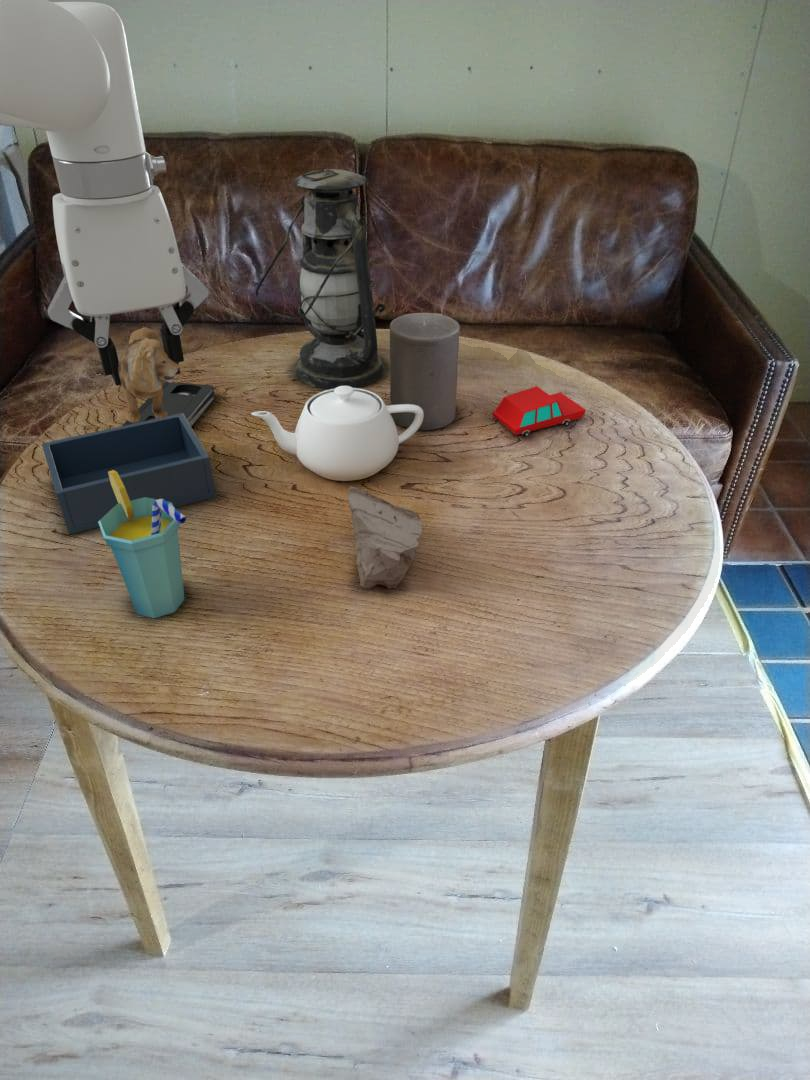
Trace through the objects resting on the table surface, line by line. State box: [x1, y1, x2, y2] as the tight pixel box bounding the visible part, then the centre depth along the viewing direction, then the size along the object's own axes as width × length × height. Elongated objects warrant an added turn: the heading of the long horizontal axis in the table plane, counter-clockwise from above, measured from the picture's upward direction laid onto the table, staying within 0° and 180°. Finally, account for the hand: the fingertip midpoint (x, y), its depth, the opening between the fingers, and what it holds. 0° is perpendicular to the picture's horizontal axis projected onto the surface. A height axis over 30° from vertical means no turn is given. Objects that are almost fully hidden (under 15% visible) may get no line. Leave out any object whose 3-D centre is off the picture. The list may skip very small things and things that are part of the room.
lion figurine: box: [118, 327, 181, 423], centre depth 79 cm, size 15×5×9 cm, turn 21°
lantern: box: [255, 168, 386, 390], centre depth 118 cm, size 19×19×30 cm
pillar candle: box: [389, 312, 461, 431], centre depth 112 cm, size 10×10×15 cm
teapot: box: [251, 386, 424, 482], centre depth 102 cm, size 22×14×11 cm, turn 101°
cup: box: [98, 470, 187, 619], centre depth 78 cm, size 14×8×15 cm, turn 50°
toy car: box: [491, 385, 587, 437], centre depth 114 cm, size 6×12×4 cm, turn 117°
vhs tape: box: [121, 381, 216, 428], centre depth 115 cm, size 14×8×2 cm, turn 170°
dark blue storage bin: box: [41, 413, 217, 535], centre depth 99 cm, size 18×13×6 cm
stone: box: [347, 485, 423, 589], centre depth 87 cm, size 15×9×10 cm
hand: (145, 372), depth 78 cm, fingers closed on lion figurine, 4 cm apart
